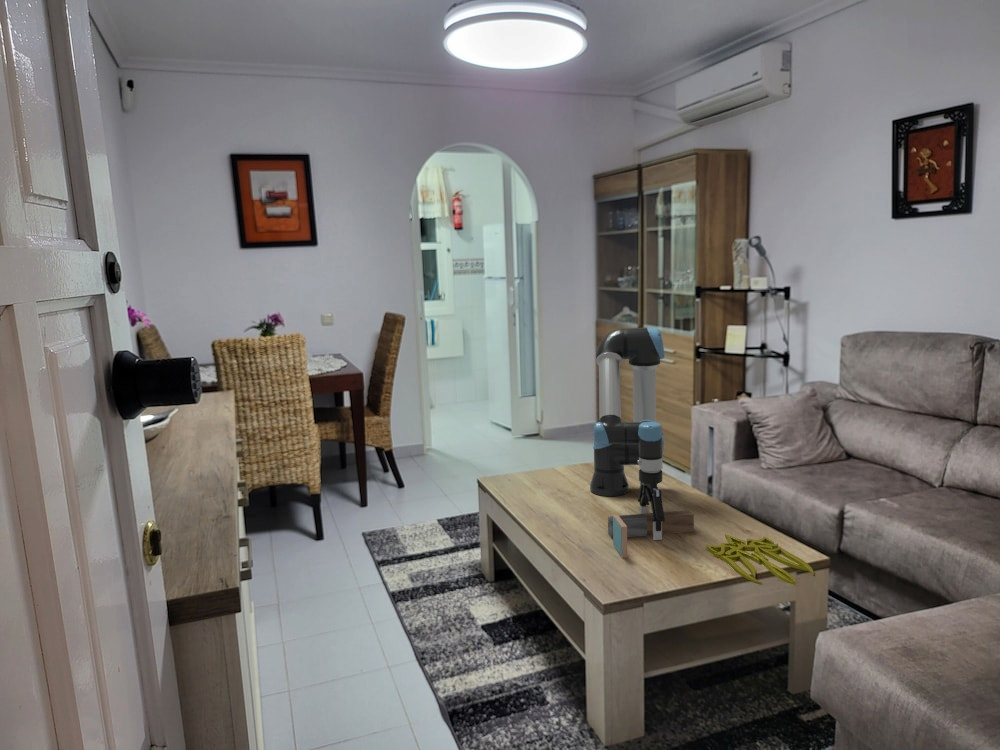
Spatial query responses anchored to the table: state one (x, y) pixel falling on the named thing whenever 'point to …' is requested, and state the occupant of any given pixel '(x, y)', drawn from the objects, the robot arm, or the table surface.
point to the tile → (620, 536)
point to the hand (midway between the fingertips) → (650, 532)
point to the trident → (757, 557)
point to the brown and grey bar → (644, 524)
